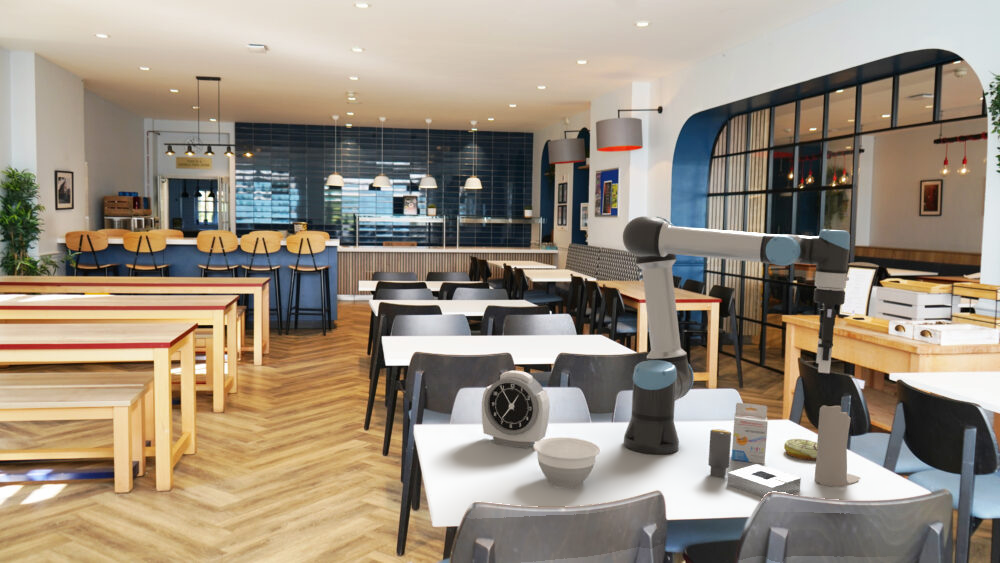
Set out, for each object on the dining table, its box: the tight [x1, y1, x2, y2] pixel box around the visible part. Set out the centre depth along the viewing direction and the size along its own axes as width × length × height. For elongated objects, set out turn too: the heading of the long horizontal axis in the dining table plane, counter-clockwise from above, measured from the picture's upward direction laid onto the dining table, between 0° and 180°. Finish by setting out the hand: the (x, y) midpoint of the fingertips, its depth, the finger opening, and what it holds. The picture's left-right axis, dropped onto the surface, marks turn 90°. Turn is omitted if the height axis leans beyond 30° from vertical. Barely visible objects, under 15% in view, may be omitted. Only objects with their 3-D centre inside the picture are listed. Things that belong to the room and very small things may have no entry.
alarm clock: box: [481, 370, 550, 450], centre depth 211 cm, size 18×8×20 cm, turn 68°
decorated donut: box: [783, 438, 817, 461], centre depth 211 cm, size 10×11×4 cm
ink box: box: [731, 402, 769, 465], centre depth 205 cm, size 8×5×15 cm, turn 73°
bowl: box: [532, 437, 601, 489], centre depth 182 cm, size 16×16×8 cm
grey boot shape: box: [814, 405, 861, 488], centre depth 191 cm, size 7×14×20 cm, turn 123°
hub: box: [726, 463, 802, 498], centre depth 184 cm, size 12×12×3 cm
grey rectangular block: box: [707, 428, 732, 479], centre depth 191 cm, size 5×5×11 cm
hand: (822, 368), depth 203 cm, fingers open, 13 cm apart
